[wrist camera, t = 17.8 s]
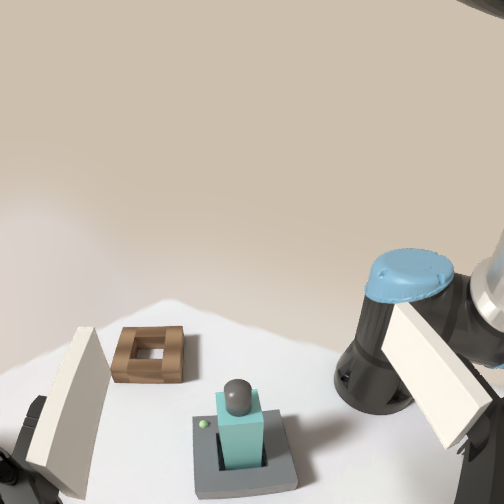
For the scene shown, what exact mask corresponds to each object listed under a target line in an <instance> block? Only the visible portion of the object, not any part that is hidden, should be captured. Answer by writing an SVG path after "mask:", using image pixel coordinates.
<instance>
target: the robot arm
mask: <svg viewBox="0 0 504 504" xmlns="http://www.w3.org/2000/svg"><path fill="white" fill-rule="evenodd" d="M457 1H459V2H461V3H464V4H466V5H468V6H470V7H472V8H475V9H477V10H480V11H482V12H485V13H487V14H490V15H493V16H495V17H498V18H501V19H504V0H457ZM472 363H476V364H479V365H483V366H485V367H487V368H491V369H494V368H496V369H497V368H500V369H504V230H503V233H502V235H501V237H500V240H499V242H498V244H497V247H496V249H495V251H494V253H493V256H492V257H490V258H487V259H484V260H483V261H481V262H480V263H479V264H478V265H477V266H476V267H475V269H474V271H473V273H472V275H471V277H470V276H466V275H462V274H458V273H454V269H453V264H452V263H451V261H450V260H449V259H447V258H446V257H445V256H443V255H438V254H437V253H436V252H432V251H429V250H423V249H413V248H409V249H408V248H407V249H397V250H393V251H389V252H386V253H384V254H382V255H381V256H379V257H378V258H377V259H376V260H375V261H374V263H373V265H372V267H371V271H370V275H369V279H368V282H367V283H366V285H365V297H364V302H363V307H362V311H361V315H360V319H359V323H358V327H357V331H356V335H355V339H354V340H353V341H352V343H351V344H350V346H349V347H348V348H347V349H346V351H345V352H344V353H343V355H342V356H341V357H340V359H339V361H338V363H337V366H336V370H335V374H334V384H335V388H336V390H337V392H338V394H339V395H340V397H341V398H342V399H343V400H344V401H345V402H346V403H347V404H348V405H350V406H351V407H353V408H355V409H357V410H359V411H361V412H364V413H368V414H373V415H387V414H392V413H395V412H398V411H400V410H402V409H403V408H405V407H406V406H407V405H408V404H409V403H410V402H411V401H412V399H413V398H414V399H415V401H416V402H417V404H418V406H419V407H420V409H421V410H422V412H423V413H424V415H425V417H426V418H427V420H428V422H429V423H430V425H431V426H432V428H433V430H434V431H435V433H436V435H437V436H438V438H439V440H440V441H441V443H442V445H443V446H444V448H445V450H446V449H448V448H450V447H452V446H454V445H455V444H457V443H459V442H460V441H461V440H462V438H463V437H464V436H465V435H467V436H468V440H467V441H466V442H465V443H464V444H463V445H462V446H461V447H460V448H459V449H458V452H457V454H460V452H461V451H462V450H463V449H464V448H465V451H464V452H463V453H462V455H464V457H463V464H462V469H461V475H460V480H459V485H458V489H457V494H456V498H455V502H454V504H504V397H503V398H500V397H499V396H498V395H497V394H496V392H495V391H494V390H493V389H492V387H491V386H490V385H489V384H488V382H487V381H486V380H485V379H484V378H483V376H482V375H480V373H479V372H478V370H477V369H475V368H474V366H473V365H472ZM110 377H111V370H110V368H109V365H108V363H107V360H106V358H105V355H104V353H103V350H102V347H101V345H100V342H99V339H98V336H97V334H96V331H95V328H94V327H78V329H77V331H76V333H75V335H74V337H73V339H72V341H71V343H70V346H69V348H68V350H67V352H66V354H65V356H64V359H63V361H62V363H61V365H60V368H59V370H58V372H57V375H56V377H55V379H54V382H53V384H52V387H51V389H50V391H49V394H48V397H46V396H40V395H39V396H38V397H37V398H36V399H35V400H34V401H33V402H32V404H31V405H30V407H29V410H28V412H27V415H26V416H27V417H25V420H24V423H23V426H22V428H21V431H20V434H19V436H18V439H17V442H16V445H15V448H14V451H13V454H12V456H11V455H10V454H9V453H8V452H7V451H5V450H4V449H3V448H1V447H0V504H63V503H62V501H61V499H60V498H59V497H58V493H59V490H60V491H61V492H62V493H63V494H65V495H66V496H69V497H73V498H77V499H81V500H85V498H86V490H87V484H88V477H89V471H90V466H91V460H92V455H93V450H94V444H95V440H96V435H97V430H98V426H99V421H100V417H101V412H102V408H103V404H104V400H105V396H106V392H107V388H108V384H109V381H110Z"/></svg>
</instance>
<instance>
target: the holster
mask: <svg viewBox="0 0 504 504" xmlns="http://www.w3.org/2000/svg"><path fill="white" fill-rule="evenodd" d="M138 349H164V352H163V359H136V356H137V351H138ZM183 353H184V333H183V326H165V327H123V329H122V332H121V335H120V338H119V341H118V344H117V348H116V351H115V354H114V357H113V361H112V364H111V368H110V370H111V375H112V378H113V380H114V382H115V383H182V373H183Z"/></svg>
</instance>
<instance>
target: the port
mask: <svg viewBox="0 0 504 504" xmlns="http://www.w3.org/2000/svg"><path fill="white" fill-rule="evenodd" d="M262 415H263V420H264V428H263V444H262V449H263V454H264V459H265V464H266V467H259V468H250V469H240V470H228V471H220V465H219V455H218V444H217V443H221V439H220V433H219V427H218V416H196V417H193V456H194V480H195V493H196V495H197V497H198V499H224V498H238V497H249V496H258V495H265V494H273V493H279V492H285V491H291V490H296V487H297V485H298V478H297V475H296V471H295V467H294V464H293V460H292V456H291V452H290V449H289V445H288V441H287V437H286V434H285V430H284V426H283V422H282V419H281V415H280V411H279V409H278V410H271V411H262Z"/></svg>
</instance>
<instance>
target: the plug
mask: <svg viewBox="0 0 504 504" xmlns="http://www.w3.org/2000/svg"><path fill="white" fill-rule="evenodd" d="M216 404H217V416H218V427H219V433H220V439H221V445H222V451H223V457H224V463H225V468H226V471H228V470H240V469H250V468H259V467H261V459H262V444H263V428H264V420H263V415H262V410H261V406H260V401H259V396H258V391H257V389H254V390H252V388H251V385H250V384H249V383H248V382H247V381H245V380H241V379H234V380H231V381H229V382H228V383H226V385H225V386H224V392H218V393H216Z"/></svg>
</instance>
